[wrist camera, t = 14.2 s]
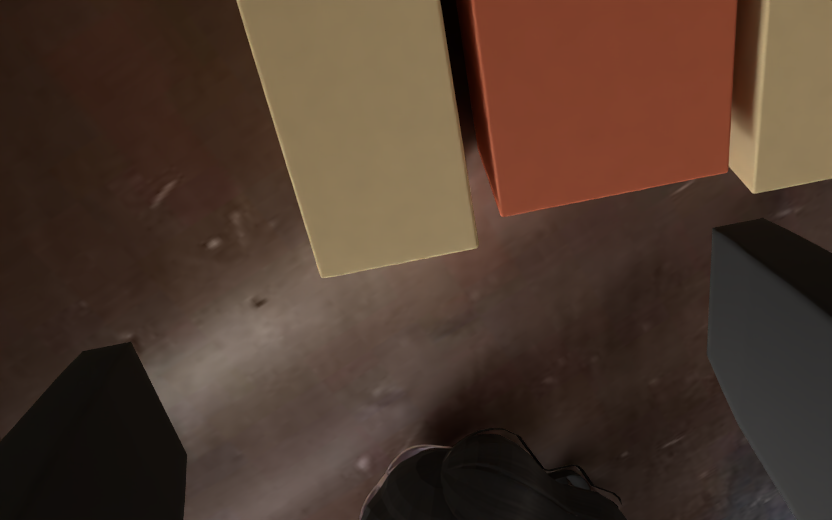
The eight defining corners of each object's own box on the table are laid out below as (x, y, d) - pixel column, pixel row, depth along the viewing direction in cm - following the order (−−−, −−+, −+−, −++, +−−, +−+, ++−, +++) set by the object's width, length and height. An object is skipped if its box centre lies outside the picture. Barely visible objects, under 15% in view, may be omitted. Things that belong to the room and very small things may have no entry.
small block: (674, 110, 18) (729, 173, 15) (477, 150, 18) (500, 219, 16) (676, -159, 15) (746, -135, 12) (439, -110, 15) (461, -75, 12)
